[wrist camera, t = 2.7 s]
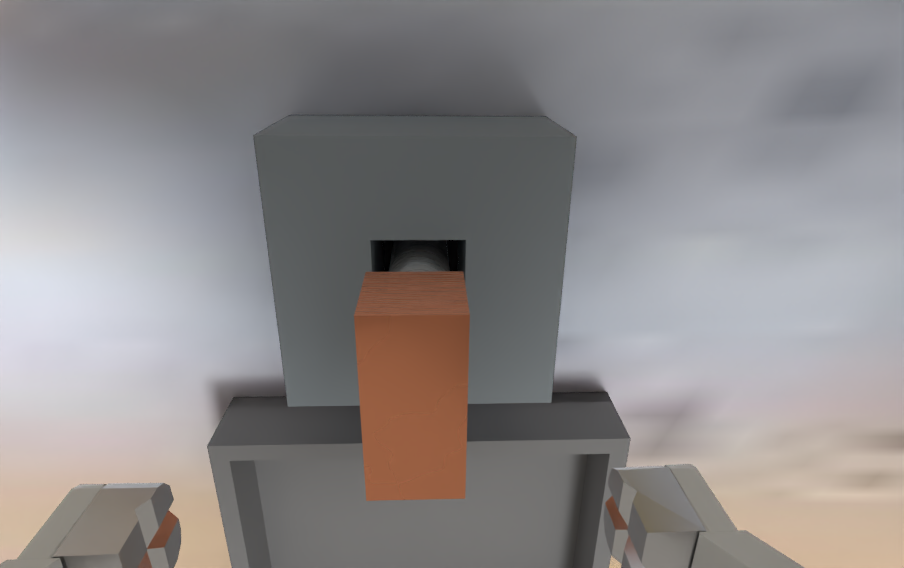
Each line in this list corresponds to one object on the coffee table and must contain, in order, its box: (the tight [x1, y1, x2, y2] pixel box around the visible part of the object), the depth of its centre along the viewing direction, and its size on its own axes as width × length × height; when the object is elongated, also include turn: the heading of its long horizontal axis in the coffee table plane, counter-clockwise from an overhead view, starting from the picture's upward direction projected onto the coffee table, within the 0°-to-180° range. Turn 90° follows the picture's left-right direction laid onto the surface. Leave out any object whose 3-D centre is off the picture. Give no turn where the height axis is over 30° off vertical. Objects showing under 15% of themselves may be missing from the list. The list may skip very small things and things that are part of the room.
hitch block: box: [253, 115, 577, 407], centre depth 22 cm, size 10×10×5 cm
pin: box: [354, 240, 470, 501], centre depth 18 cm, size 2×5×12 cm, turn 179°
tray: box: [207, 392, 630, 568], centre depth 29 cm, size 18×15×4 cm
